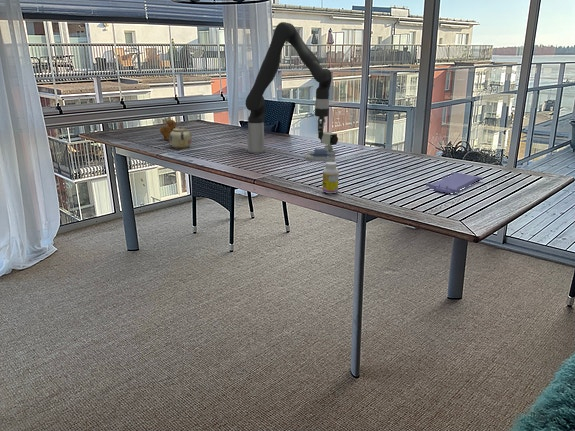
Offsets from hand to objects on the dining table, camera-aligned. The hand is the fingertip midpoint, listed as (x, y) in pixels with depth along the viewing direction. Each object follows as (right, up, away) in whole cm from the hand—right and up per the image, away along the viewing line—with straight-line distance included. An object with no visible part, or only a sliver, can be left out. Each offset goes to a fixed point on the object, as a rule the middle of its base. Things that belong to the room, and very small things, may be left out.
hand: (320, 137), depth 258 cm
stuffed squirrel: (-96, +7, +54) cm, 111 cm away
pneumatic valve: (+6, -5, +21) cm, 22 cm away
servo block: (0, -11, +4) cm, 12 cm away
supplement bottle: (0, -34, -59) cm, 68 cm away
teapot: (-84, -2, +31) cm, 89 cm away
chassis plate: (0, -11, +4) cm, 12 cm away
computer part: (+56, -31, -49) cm, 81 cm away
